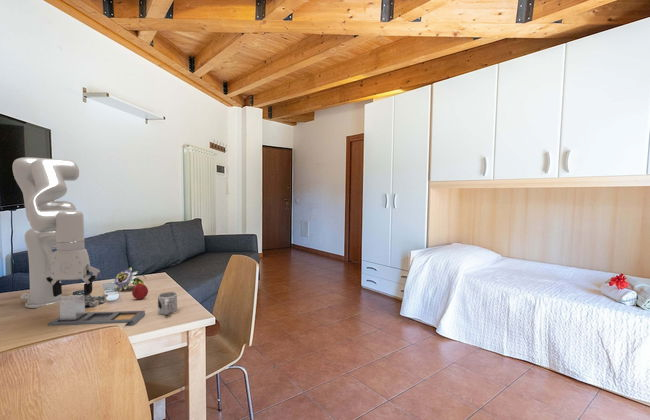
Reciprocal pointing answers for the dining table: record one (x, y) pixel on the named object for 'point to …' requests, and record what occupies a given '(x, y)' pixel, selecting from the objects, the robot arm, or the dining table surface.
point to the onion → (140, 291)
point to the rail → (104, 318)
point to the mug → (167, 303)
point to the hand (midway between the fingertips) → (73, 294)
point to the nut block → (72, 308)
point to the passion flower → (126, 279)
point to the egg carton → (101, 299)
